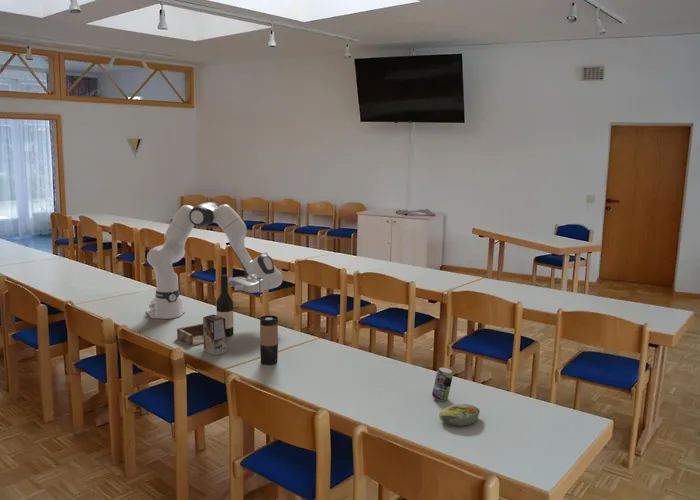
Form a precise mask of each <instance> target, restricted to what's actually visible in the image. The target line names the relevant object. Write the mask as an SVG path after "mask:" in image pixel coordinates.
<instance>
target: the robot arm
mask: <svg viewBox="0 0 700 500" xmlns="http://www.w3.org/2000/svg"><path fill="white" fill-rule="evenodd" d="M212 223H216V224H217V225H218V226H219V227H220V229H221V230H222V231H223V232H224V234H225V236H226V238H227V239H228V241H229V245H230V247H231V249H232V251H233V253H234V254H235V257H236V258H237V259H238V261H239V263H240V264H241V266H242V269H243V271H244V275H245V277H243V276H234V277H228V287H233V291H243V292H246V293H250V294H251V293H253V294H254V293H261V294H262V293H264V290H273V289H275V288H278V287H280V286H281V284H282V283H283V279H284V278H283V273H282V272H281V271H280V270H279V269H278V268H277V267H276V266H275V264H274V260H273V258H272V257H271V256H270V255H268V254H265V253H261V254H259V255H258V256H257V257H255V258H254V259H252V257H251V255H250V253H249V252H248V250H247V248H246V246H245V239H246V236H247V231H248V228H247V225H246V223H245V221H244V220H243V218H242V217H240V215H239V214H238V213H237V212H236V210H234V209H233V208H232V207H231V206H230V205H229V204H226V203H225V204H220V205H219V204H218V202H215V201H207V202H203V203H200V204H198V205H195V206H192V205H189V204H183V205H182V206H181V207H180V208H179V209H178V210H177V212H176V213H175V214H174V216H173V218H172V220H171V222H170V224H169V225H168V227H167V230H166V232H165V235H166V239H165V242H164V243H163V244H160V245H158V246H157V245H156V246H155V247H152V248H151V249H150V250H149V251H147V255H146V260H147V262H148V264H149V265H150V266H151V268H153V271H154V273H155V274H154V275H155V278H156V279H155V280H156V289H155V297H154V298H153V299H152V300H151V301H150V303H149V304H148V305H149V306H148V307H149V308H148V309H145V310H146V311H145V312H146V314H147V315H148V316H149V317H150V318H151V319H163V320H164V319H165V320H166V319H170V320H171V319H176V318H179V317H181V316H183V314H185V313H186V311H185V310H184V308H183V301H182V299H183V298H181V297H180V288H179V275H178V274H177V272H175V270H174V268H173V264H174V263H175V264H176V263H177V262H179V261H181V260H182V258H183V259H184V257H185V254H186V249H185V245H186V242H187V240H188V238H189V236H190V234H191V232H192V231H193V228H194V226H196V227H205V226H208V225H211V224H212Z"/></svg>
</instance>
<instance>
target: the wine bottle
mask: <svg viewBox="0 0 700 500" xmlns="http://www.w3.org/2000/svg"><path fill="white" fill-rule="evenodd" d="M228 279H229V277H228V275H227V273H226V274H225V273H223V274H221V276H220V293H219V294H220V295H219V296H218V297H217V299H216V301H215V302H216V304H215V305H216V306H215V307H216V315H217V316H220V317H222V318H225V330H226V338H230V337H231V336H234V332H235V331H234V301H233V299H232V297H231V296H230V294H229V286H228Z"/></svg>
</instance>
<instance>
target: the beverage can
mask: <svg viewBox="0 0 700 500" xmlns="http://www.w3.org/2000/svg"><path fill="white" fill-rule="evenodd" d="M453 376H454V374H453V371H452V369H450V368H447V367H445V366H444V367H439V369H437V370H436V375H435V379H434V383H433V388H432V393H431V395H432V397H433V398H434V400H437V401H441V402H443V401H444V400H445V401H446V400H448V398H449V395H450V389H451V387H452V386H451V385H452V380H453Z"/></svg>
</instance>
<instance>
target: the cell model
mask: <svg viewBox="0 0 700 500" xmlns="http://www.w3.org/2000/svg"><path fill="white" fill-rule="evenodd" d="M480 411H481V410H480V408H478V407H477V406H475V405H471V404H466V403H457V404H452V405H449V406H447V407H445V408H443V409H441V411H440V412H439V415H438V416H439V419H440V420H441V421H442V422H444V423H445V424H449V425H453V426H468V425H471V424H474V423H475V422H476V421H477V420H478V418H479V416H480Z"/></svg>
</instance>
